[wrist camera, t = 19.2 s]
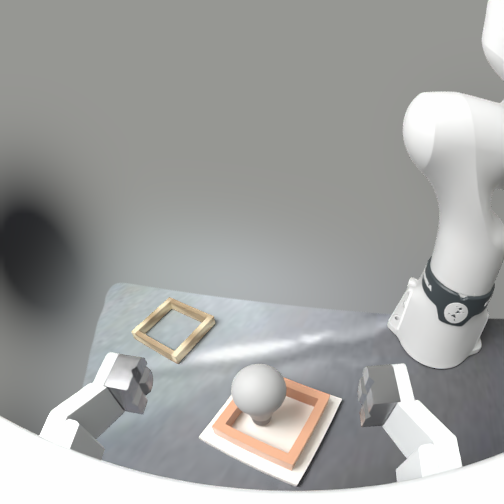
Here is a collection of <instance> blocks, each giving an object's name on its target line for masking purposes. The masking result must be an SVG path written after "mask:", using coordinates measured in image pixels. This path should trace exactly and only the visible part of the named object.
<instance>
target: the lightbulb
mask: <svg viewBox="0 0 504 504" xmlns="http://www.w3.org/2000/svg"><path fill="white" fill-rule="evenodd" d="M231 395H232V398H233V401H234V403H235V405H236V406H237V407H238V408H239V409H240V410H241V411H243V412H244V413H246V414H248V415H250V417H251V418H252V420H253V422H254V423H255V424H256V425H259V426H264V425H267V424H268V423H269V422H270V421H271V418H272V415H273V412H275V411H276V410H277V409H279V407H280V406H281V405H282V403H283V402H284V400H285V397H286V383H285V380H284V378H283V377H282V375H281V374H280V373H279V372H278V371H277V370H276V369H275V368H273V367H271V366H268V365H265V364H253V365H249V366H247V367H245V368H243V369H242V370H240V371H239V372H238V373H237V375H236V376H235V378H234V380H233V382H232V387H231Z"/></svg>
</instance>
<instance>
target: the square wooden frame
mask: <svg viewBox="0 0 504 504" xmlns="http://www.w3.org/2000/svg"><path fill="white" fill-rule="evenodd" d="M171 309H174V310H176V311H178V312H180V313H182V314H185V315H187V316H189V317H191V318H193V319H196V320H198V321H200V322H202V323H201V324H200V325H199V326H198V327H197V328H196V329H195V330H194V331H193V333H192V334H191V335H190V336H189V337H188V338H187V339H186V340H185V341H184V342H183V343H182V344H181V345H180V346H179V347H178V348H177V349H176V350H175V351H174V350H172V349H170V348H168V347H166V346H165V345H163V344H161V343H159V342H157V341H156V340H154V339H152V338H150V337H149V336H147V335H145V333H146V332H147V331H149V330H150V329H151V328H152V327H153V326H154V325H155V324H156V323H157V322H158V321H159V320H160V319H161V318H162V317H164V316H165V315H166V314H167V313H168V312H169V311H170V310H171ZM214 324H215V320H214V316H212V315H209V314H207V313H205V312H202V311H200V310H198V309H195V308H193V307H191V306H188V305H186V304H184V303H181V302H179V301H177V300H175V299H172V298H170V297H169V298H168V299H167V300H166V301H165V302H164V303H163V304H161V305H160V306H159V307H158V308H157V309H156V310H155V311H154V312H152V313H151V314H150V315H149V316H148V317H147V318H146V319H145V320H144V321H142V322H141V323H140V324H139V325H138V326H137V327H136V328H135V329H134V330H133V331H131V332H132V334H133V336H134V338H135V339H136V340H138V341H140V342H141V343H143V344H144V345H146V346H148V347H149V348H151V349H153V350H154V351H156V352H158V353H159V354H161V355H163V356H165V357H166V358H168V359H170V360H172V361H173V362H175V363H177V364H178V363H179V362H180V361H181V360H182V359H183V358H184V357H185V356H186V355H187V354H188V353H189V352H190V351H191V349H192V348H193V347H194V346H195V345H196V344H197V343H198V342H199V341H200V340H201V339H202V338H203V336H204V335H205V334H206V333H207V332H208V331H209V330H210V329H211V328H212V327H213V326H214Z"/></svg>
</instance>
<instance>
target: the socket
mask: <svg viewBox="0 0 504 504" xmlns="http://www.w3.org/2000/svg"><path fill="white" fill-rule="evenodd" d="M283 378H284V377H283ZM284 380H285V383H286V397H285V400H284V402H283V403H282V405H281V406H280V407H279V409H277V410H276V411H275V412H273V415H272V418H271V421H270V422H269V423H268V424H267V425H264V426H259V425H256V424H255V423H254V422H253V420H252V418H251V417H250V415H248V414H246V413H244V412H243V411H241V410H240V409H239V408H238V407H237V406H236V405H235V403H234V401H233V398H232V395H231V396H230V398H229V399H228V400H227V402H226V403H225V404H224V405H223V407H222V408H221V409H220V411H219V412H218V413H217V414H216V416H215V417H214V418H213V420H212V421H211V422H210V423H209V425H208V426H207V427H206V428H205V430H204V431H203V432H202V433H201V435H200V436H199V438H200V440H202V441H203V442H205V443H207V444H209V445H210V446H212V447H214V448H216V449H218V450H219V451H221V452H223V453H225V454H227V455H229V456H231V457H232V458H234V459H236V460H238V461H240V462H242V463H244V464H246V465H248V466H250V467H252V468H255V469H257V470H259V471H261V472H263V473H265V474H267V475H270V476H272V477H274V478H276V479H279V480H281V481H283V482H286V483H288V484H291V485H293V486H296V487H297V485H298V483H299V482H300V480H301V478H302V477H303V475H304V473H305V471H306V470H307V468H308V466H309V464H310V462H311V461H312V459H313V457H314V455H315V453H316V451H317V449H318V448H319V446H320V444H321V442H322V440H323V438H324V436H325V434H326V432H327V430H328V428H329V426H330V424H331V422H332V420H333V418H334V416H335V413H336V411H337V409H338V407H339V405H340V403H341V400H342V399H341V398H338V397H335V396H332V395H329V394H327V393H324V392H321V391H318V390H315V389H313V388H310V387H307V386H305V385H302V384H299V383H297V382H294V381H292V380H289V379H286V378H284Z"/></svg>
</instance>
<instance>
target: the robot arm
mask: <svg viewBox="0 0 504 504" xmlns="http://www.w3.org/2000/svg"><path fill="white" fill-rule="evenodd" d="M482 46H483V50H484V53H485V56H486V58H487V60H488V62H489V64H490V65H491V67H492V68H493V70H494V71H495V72H496V73H497V74H498V75H499V77H500V78H501V79H502V80H503V81H504V0H488V5H487V11H486V17H485V23H484V29H483V35H482ZM403 139H404V143H405V147H406V150H407V152H408V154H409V156H410V158H411V159H412V161H413V163H414V164H415V165H416V166H417V168H418V169H419V170H420V171H421V172H422V173H423V174H424V175H425V176H426V178H427V179H428V180H429V182H430V183H431V185H432V187H433V189H434V191H435V193H436V196H437V199H438V204H439V212H440V219H439V227H438V233H437V238H436V243H435V247H434V251H433V255H432V256H431V258H430V259H429V260H428V263H427V265H426V267H425V269H424V271H423V273H422V275H421V276H420V278H419V279H416V278H413V277H411V278H410V280H409V283H408V286H407V290H406V291H405V293H404V295H403V297H402V299H401V300H400V302H399V304H398V305H397V307H396V309H395V310H394V312H393V314H392V315H391V317H390V318H389V320H388V323H387V326H388V328H389V329H390V330H391V331H392V332H393V333H394V334H396V335H397V337H398V338H399V340H400V342H401V344H402V346H403V348H404V349H405V350H406V352H407V353H408V354H409V355H410V356H411V357H412V358H414V359H415V360H416V361H418V362H420V363H421V364H424V365H426V366H429V367H432V368H439V369H446V368H451V367H454V366H457V365H459V364H460V363H462V362H463V361H464V360H465V359H466V358H467V357H468V356H469V355H472V354H475V353H477V352H479V351H480V349H481V346H482V345H481V340H480V335H481V333H482V331H483V329H484V327H485V325H486V322H487V320H488V317H489V313H488V310H487V304H488V303H489V301H490V300H491V297H492V294H493V291H494V286H495V283H494V282H495V280H496V277H497V275H498V273H499V270H500V268H501V265H502V263H503V260H504V224H503V222H502V221H501V219H500V218H499V217H498V216H497V215H496V214H495V213H494V212H493V211H492V210H491V198H492V194H493V191H494V189H502V190H504V100H503V101H502V102H501V103H496V102H492V101H489V100H486V99H481V98H478V97H475V96H471V95H467V94H463V93H458V92H424V93H420V94H419V95H418V96H417V97H416V98H415V99H414V100H413V101H412V102H411V104H410V105H409V107H408V109H407V111H406V114H405V117H404V121H403ZM146 365H147V362H146V360H145V358H142V357H136V356H130V355H123V354H118V353H112V352H109V353H108V354H107V355H106V357H105V359H104V361H103V363H102V365H101V367H100V369H99V371H98V374H97V376H96V378H95V380H94V382H93V384H92V383H89V384H88V385H87V386H85V387H84V388H82V389H81V390H80V391H79V392H77V393H76V394H74V395H73V396H71V397H70V398H68V399H67V400H66V401H64V402H63V403H62V404H60V405H59V406H57V407H56V408H55V409H53V410H52V411H51V412H50V414H49V416H48V418H47V421H46V423H45V425H44V427H43V429H42V432H41V434H40V436H39V435H36V434H34V433H32V432H30V431H28V430H26V429H24V428H22V427H20V426H18V425H16V424H14V423H12V422H11V421H9V420H7V419H5V418H3V417H1V416H0V504H504V453H501V454H498V455H496V456H493V457H490V458H488V459H485V460H482V461H479V462H476V463H473V464H470V465H467V466H463V467H462V463H461V458H460V453H459V448H458V444H457V439H456V436H455V435H454V434H453V433H451V432H450V431H449V430H448V429H447V428H446V427H445V426H444V425H443V424H442V423H441V422H440V421H439V420H438V419H437V418H436V417H435V416H434V415H433V414H432V413H431V412H430V411H429V410H428V409H427V408H426V407H425V406H424V405H423V404H422V403H421V402H420V401H419V400H415V399H414V395H413V391H412V387H411V383H410V379H409V375H408V371H407V368H406V365H405V364H393V365H391V364H389V365H377V366H366V367H365V368H364V370H363V377H362V378H361V379H360V381H359V384H358V402H359V403H360V404H361V405H362V408H361V410H360V419H361V427H370V426H382V427H383V428H384V429H385V431H386V432H387V433H388V434H389V436H390V437H391V438H392V440H393V441H394V442H395V444H396V445H397V446H398V447H399V449H400V450H401V451H402V453H403V454H404V455H405V457H406V458H407V459H406V460H405V461H404V462H403V463H402V464H401V465H400V466H399V467H398V468H397V469H396V477H397V482H396V483H389V484H383V485H376V486H368V487H360V488H349V489H337V490H318V491H271V490H252V489H239V488H229V487H220V486H212V485H205V484H198V483H192V482H186V481H181V480H176V479H171V478H166V477H161V476H157V475H152V474H148V473H144V472H140V471H136V470H132V469H129V468H125V467H122V466H118V465H115V464H112V463H109V462H105V461H102V460H101V459H102V456H103V453H104V450H105V449H104V447H103V446H102V445H101V444H100V443H99V442H98V441H97V440H96V439H97V438H98V437H99V436H100V435H101V434H102V433H103V432H104V431H105V430H106V429H107V428H108V427H110V426H111V425H112V424H113V423H114V422H115V421H116V420H117V419H118V418H119V417H120V416H121V415H122V414H123V413H124V411H128V412H133V413H138V414H143V413H144V410H145V407H146V404H147V398H146V395H147V394H148V393H150V392H151V389H152V386H153V375H152V372H151V370H150V369H149V368H148V367H146Z"/></svg>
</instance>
